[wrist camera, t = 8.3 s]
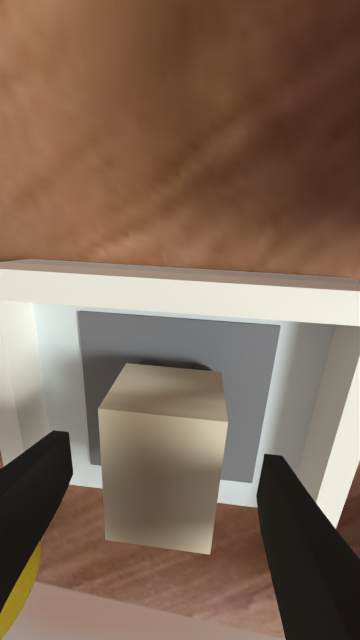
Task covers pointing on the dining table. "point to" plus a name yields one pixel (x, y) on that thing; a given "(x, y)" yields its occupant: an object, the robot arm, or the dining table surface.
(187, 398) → the cream rectangular block
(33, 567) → the lemon
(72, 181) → the dining table surface
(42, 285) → the dock
